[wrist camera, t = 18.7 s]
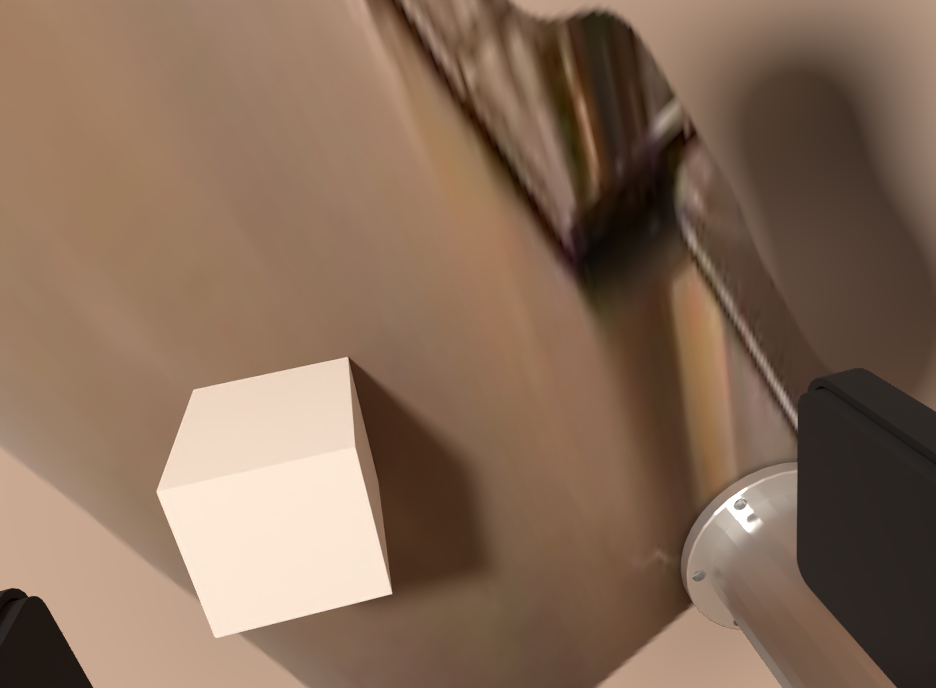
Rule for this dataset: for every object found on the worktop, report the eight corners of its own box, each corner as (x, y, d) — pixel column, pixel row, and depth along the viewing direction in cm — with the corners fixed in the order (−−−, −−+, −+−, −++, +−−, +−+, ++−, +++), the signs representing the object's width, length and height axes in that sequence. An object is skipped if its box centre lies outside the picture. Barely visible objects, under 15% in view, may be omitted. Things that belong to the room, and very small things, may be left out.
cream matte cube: (348, 357, 36) (355, 446, 28) (378, 481, 39) (392, 593, 32) (193, 389, 35) (156, 491, 28) (237, 514, 39) (215, 638, 31)
